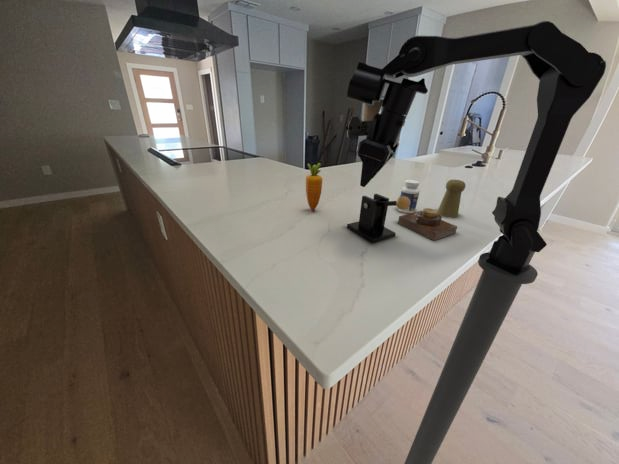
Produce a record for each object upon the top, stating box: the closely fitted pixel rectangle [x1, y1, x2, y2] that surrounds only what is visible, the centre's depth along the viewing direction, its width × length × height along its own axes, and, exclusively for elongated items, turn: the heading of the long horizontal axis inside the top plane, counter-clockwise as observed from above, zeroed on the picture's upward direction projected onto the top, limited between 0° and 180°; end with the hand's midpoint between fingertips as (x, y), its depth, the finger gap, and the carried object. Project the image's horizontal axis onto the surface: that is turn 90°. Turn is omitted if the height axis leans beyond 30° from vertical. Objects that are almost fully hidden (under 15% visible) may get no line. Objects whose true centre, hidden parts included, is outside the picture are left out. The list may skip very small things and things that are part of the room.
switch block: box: [397, 210, 458, 241], centre depth 70 cm, size 12×9×4 cm
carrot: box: [305, 162, 323, 212], centre depth 77 cm, size 5×5×15 cm
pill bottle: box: [397, 179, 421, 214], centre depth 81 cm, size 5×5×10 cm
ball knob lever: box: [374, 196, 410, 210], centre depth 60 cm, size 12×3×3 cm, turn 30°
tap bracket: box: [346, 193, 396, 244], centre depth 65 cm, size 10×8×10 cm
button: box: [421, 207, 438, 218], centre depth 69 cm, size 4×4×2 cm
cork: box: [436, 179, 466, 219], centre depth 79 cm, size 6×6×11 cm
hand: (366, 181), depth 61 cm, fingers open, 9 cm apart
